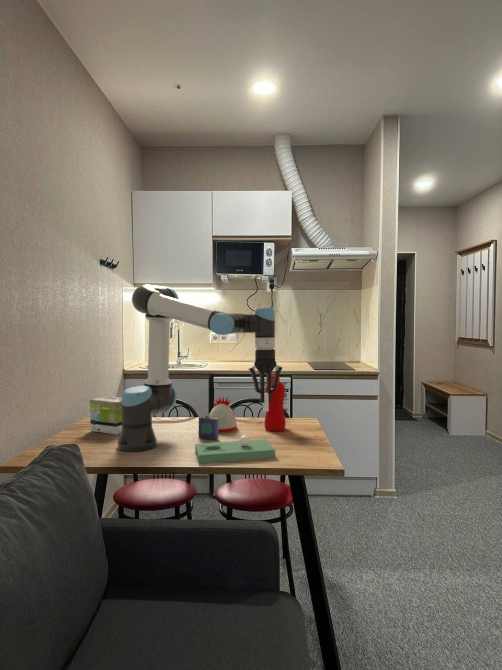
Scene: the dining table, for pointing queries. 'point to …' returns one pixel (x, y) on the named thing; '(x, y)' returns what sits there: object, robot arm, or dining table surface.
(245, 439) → the ball
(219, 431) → the kitchen timer
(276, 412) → the water bottle
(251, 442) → the putting mat
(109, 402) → the tea box
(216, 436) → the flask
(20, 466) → the dining table surface
